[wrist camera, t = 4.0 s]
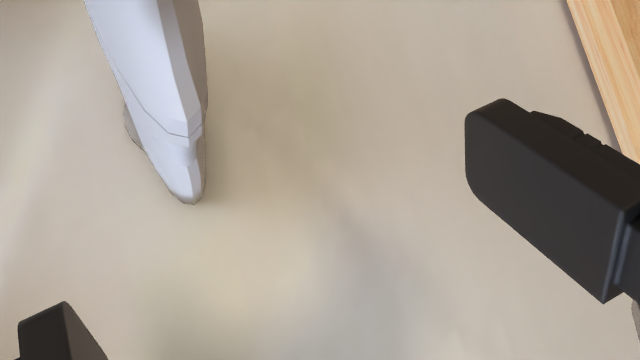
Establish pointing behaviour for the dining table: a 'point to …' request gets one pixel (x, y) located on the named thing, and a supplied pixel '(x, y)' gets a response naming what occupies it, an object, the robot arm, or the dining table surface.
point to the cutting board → (614, 62)
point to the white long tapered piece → (160, 83)
